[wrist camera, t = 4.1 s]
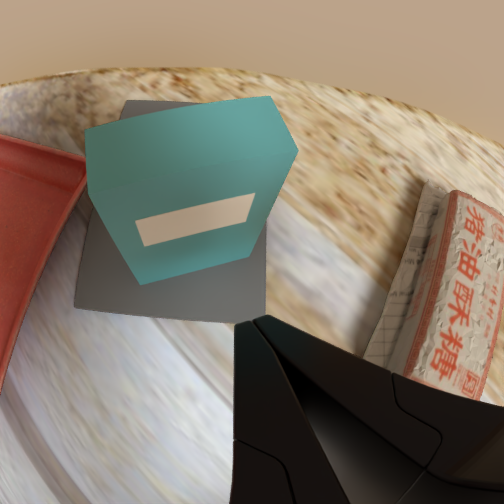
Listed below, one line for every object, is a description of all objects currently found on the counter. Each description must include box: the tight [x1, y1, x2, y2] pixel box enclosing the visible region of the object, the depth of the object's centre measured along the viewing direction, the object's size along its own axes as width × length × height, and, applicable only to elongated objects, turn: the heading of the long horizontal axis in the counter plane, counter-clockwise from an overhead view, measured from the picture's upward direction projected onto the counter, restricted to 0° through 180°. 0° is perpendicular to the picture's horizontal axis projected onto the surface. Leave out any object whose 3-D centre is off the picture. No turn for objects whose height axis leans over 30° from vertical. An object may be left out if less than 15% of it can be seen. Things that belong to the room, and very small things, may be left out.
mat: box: [74, 100, 266, 323], centre depth 20 cm, size 16×11×1 cm
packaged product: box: [363, 179, 504, 401], centre depth 19 cm, size 18×5×10 cm
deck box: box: [85, 96, 299, 285], centre depth 14 cm, size 3×6×10 cm, turn 109°
